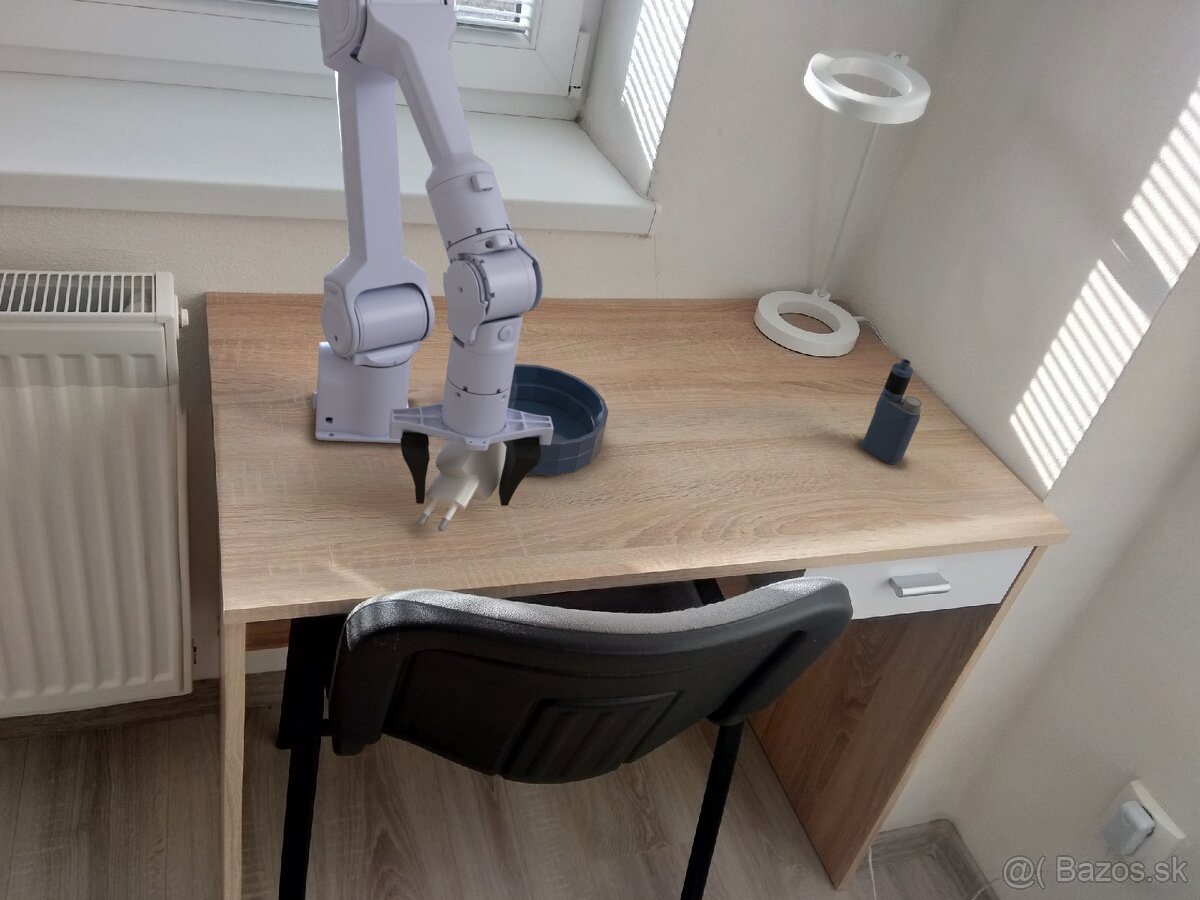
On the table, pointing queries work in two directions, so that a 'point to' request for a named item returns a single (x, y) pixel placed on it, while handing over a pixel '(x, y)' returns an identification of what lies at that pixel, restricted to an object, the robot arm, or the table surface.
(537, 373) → the bowl
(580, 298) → the table surface
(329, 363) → the robot arm
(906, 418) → the vaping device
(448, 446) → the power adapter
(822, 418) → the table surface
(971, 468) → the table surface
